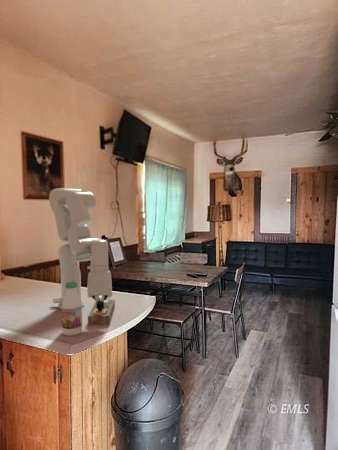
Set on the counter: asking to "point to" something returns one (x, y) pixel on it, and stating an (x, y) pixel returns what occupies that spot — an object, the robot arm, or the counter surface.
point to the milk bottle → (71, 311)
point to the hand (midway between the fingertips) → (100, 309)
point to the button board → (101, 318)
